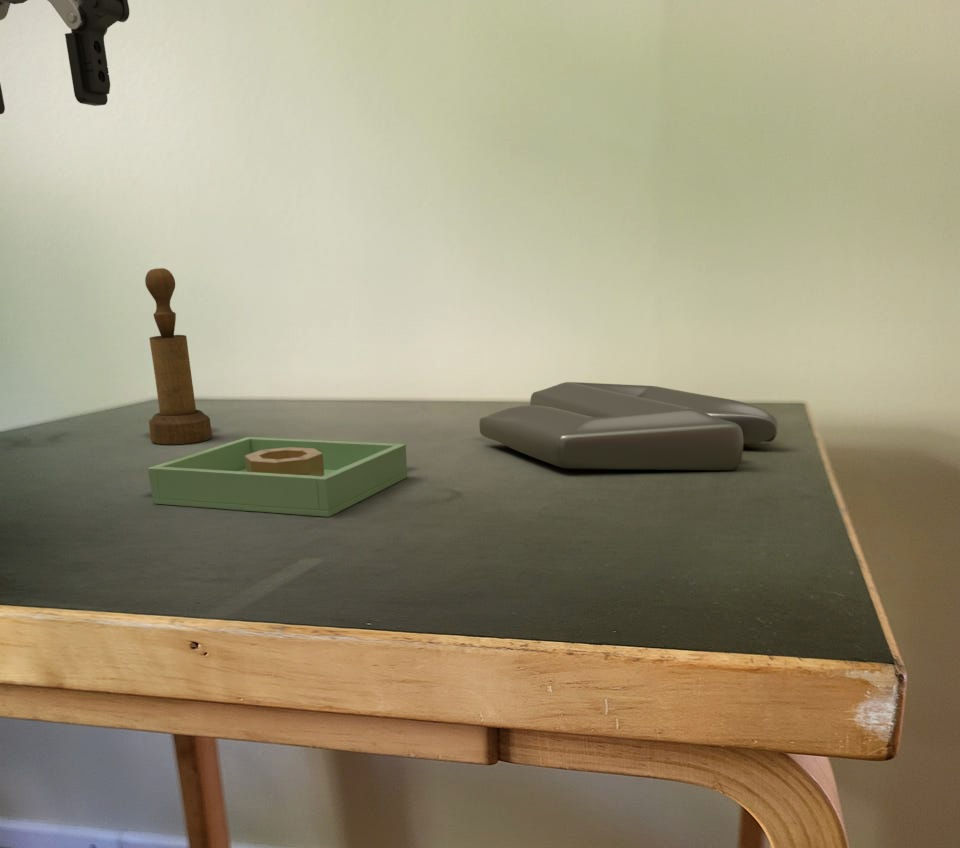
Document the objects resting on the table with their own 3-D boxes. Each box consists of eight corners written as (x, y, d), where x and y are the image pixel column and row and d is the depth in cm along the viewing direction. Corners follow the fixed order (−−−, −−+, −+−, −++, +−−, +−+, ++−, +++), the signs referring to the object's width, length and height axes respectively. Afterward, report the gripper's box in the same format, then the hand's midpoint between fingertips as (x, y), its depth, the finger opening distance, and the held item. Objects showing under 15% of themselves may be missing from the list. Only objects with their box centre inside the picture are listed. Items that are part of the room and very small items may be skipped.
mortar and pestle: (170, 447, 105) (144, 269, 98) (140, 441, 109) (113, 269, 102) (223, 438, 109) (202, 267, 102) (192, 432, 113) (170, 267, 106)
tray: (152, 503, 81) (147, 468, 79) (250, 468, 93) (247, 436, 92) (329, 517, 75) (325, 478, 74) (407, 477, 88) (405, 444, 86)
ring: (235, 490, 82) (231, 459, 81) (274, 474, 88) (271, 446, 87) (299, 494, 80) (296, 463, 79) (335, 478, 86) (333, 449, 85)
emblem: (426, 405, 92) (567, 372, 114) (429, 461, 94) (567, 418, 116) (707, 426, 78) (808, 383, 99) (703, 491, 80) (803, 436, 101)
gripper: (-160, -208, 56) (-91, 110, 62) (32, -258, 51) (87, 92, 57) (-52, -162, 62) (0, 123, 68) (128, -202, 57) (167, 107, 63)
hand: (40, 108), depth 63 cm, fingers open, 8 cm apart
